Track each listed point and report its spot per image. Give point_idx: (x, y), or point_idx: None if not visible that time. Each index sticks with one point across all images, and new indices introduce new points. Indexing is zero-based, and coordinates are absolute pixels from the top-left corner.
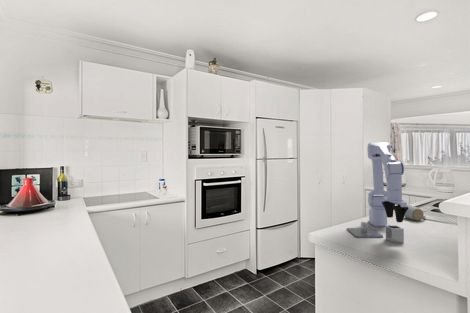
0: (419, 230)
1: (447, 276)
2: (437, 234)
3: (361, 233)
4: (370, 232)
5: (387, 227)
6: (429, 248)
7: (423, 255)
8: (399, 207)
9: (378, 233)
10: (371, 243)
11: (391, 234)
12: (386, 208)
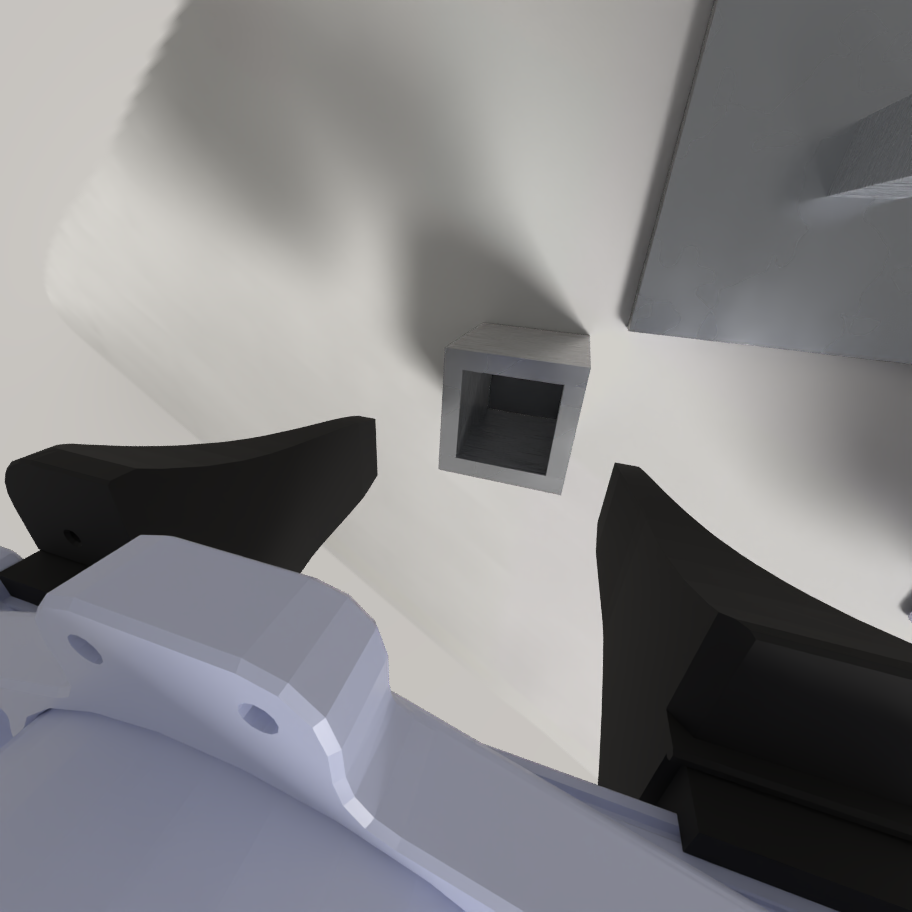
0: None
1: (52, 295)
2: (579, 700)
3: (823, 69)
4: (798, 247)
5: (542, 357)
6: None
7: (264, 374)
8: (41, 523)
9: (717, 328)
10: (489, 77)
11: (469, 336)
12: (647, 548)
